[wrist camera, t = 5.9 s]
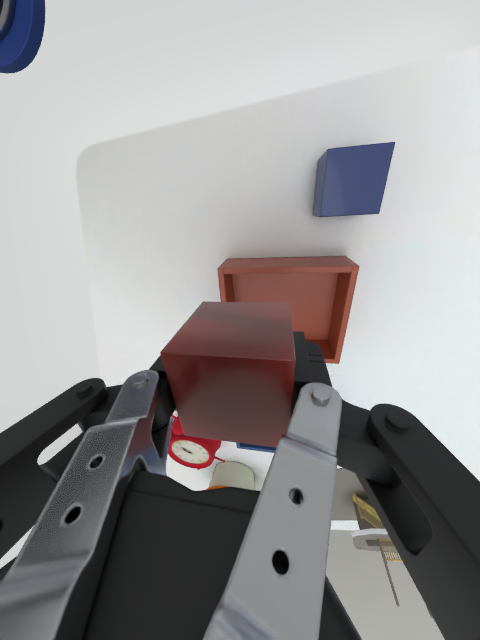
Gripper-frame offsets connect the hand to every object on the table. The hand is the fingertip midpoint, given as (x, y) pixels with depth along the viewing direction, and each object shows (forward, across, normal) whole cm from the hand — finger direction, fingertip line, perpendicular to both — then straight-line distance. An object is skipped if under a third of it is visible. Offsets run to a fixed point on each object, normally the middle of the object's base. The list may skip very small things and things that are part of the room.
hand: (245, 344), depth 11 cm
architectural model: (+16, -22, +47) cm, 54 cm away
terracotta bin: (+16, -2, +4) cm, 16 cm away
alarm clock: (+16, +15, +32) cm, 39 cm away
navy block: (+16, -7, -8) cm, 19 cm away
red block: (+1, 0, 0) cm, 1 cm away
